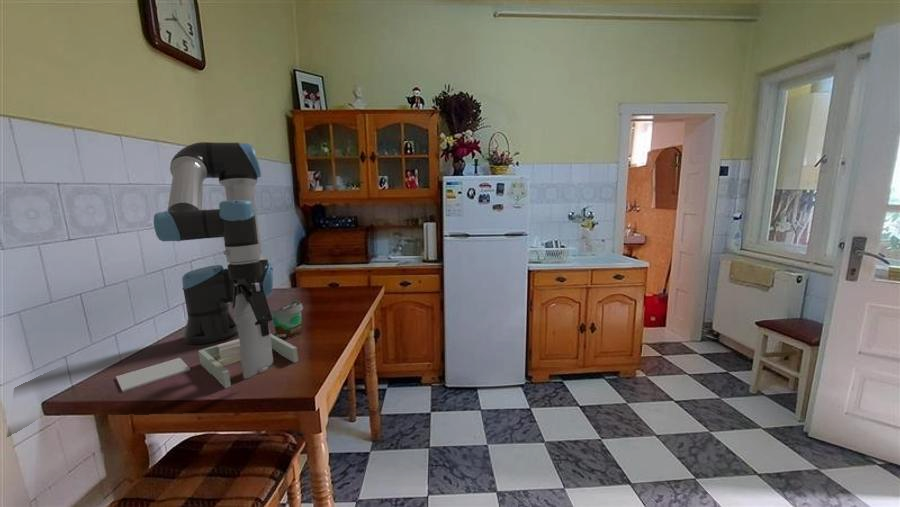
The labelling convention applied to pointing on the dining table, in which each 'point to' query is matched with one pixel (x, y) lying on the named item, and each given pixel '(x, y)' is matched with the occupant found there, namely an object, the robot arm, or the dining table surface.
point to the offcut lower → (227, 359)
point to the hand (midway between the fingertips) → (255, 341)
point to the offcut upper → (229, 349)
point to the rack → (223, 373)
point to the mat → (151, 374)
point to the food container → (288, 320)
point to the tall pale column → (250, 340)
